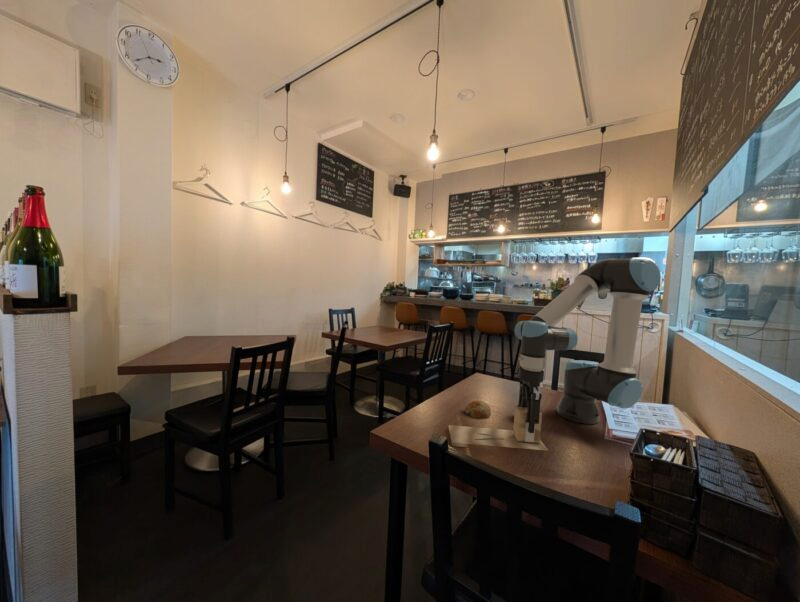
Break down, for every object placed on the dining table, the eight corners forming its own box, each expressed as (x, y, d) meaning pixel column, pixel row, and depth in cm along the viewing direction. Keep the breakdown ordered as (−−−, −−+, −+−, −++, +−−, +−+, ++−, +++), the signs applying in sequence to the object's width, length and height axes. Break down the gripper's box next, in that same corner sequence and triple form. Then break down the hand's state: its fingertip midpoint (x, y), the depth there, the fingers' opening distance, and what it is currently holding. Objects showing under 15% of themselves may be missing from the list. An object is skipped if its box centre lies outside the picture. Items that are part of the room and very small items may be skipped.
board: (534, 435, 109) (534, 432, 109) (548, 454, 97) (548, 450, 97) (448, 428, 110) (448, 425, 110) (452, 445, 98) (452, 442, 98)
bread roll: (486, 432, 117) (497, 415, 116) (462, 417, 118) (472, 400, 117) (484, 421, 127) (494, 405, 125) (462, 407, 128) (471, 391, 127)
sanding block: (533, 436, 105) (536, 408, 105) (539, 444, 100) (542, 414, 100) (512, 434, 106) (515, 406, 105) (517, 442, 101) (519, 412, 100)
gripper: (511, 360, 111) (506, 423, 112) (529, 375, 93) (523, 450, 94) (533, 362, 110) (527, 425, 112) (555, 377, 92) (548, 452, 94)
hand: (526, 436), depth 103 cm, fingers closed on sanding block, 5 cm apart
